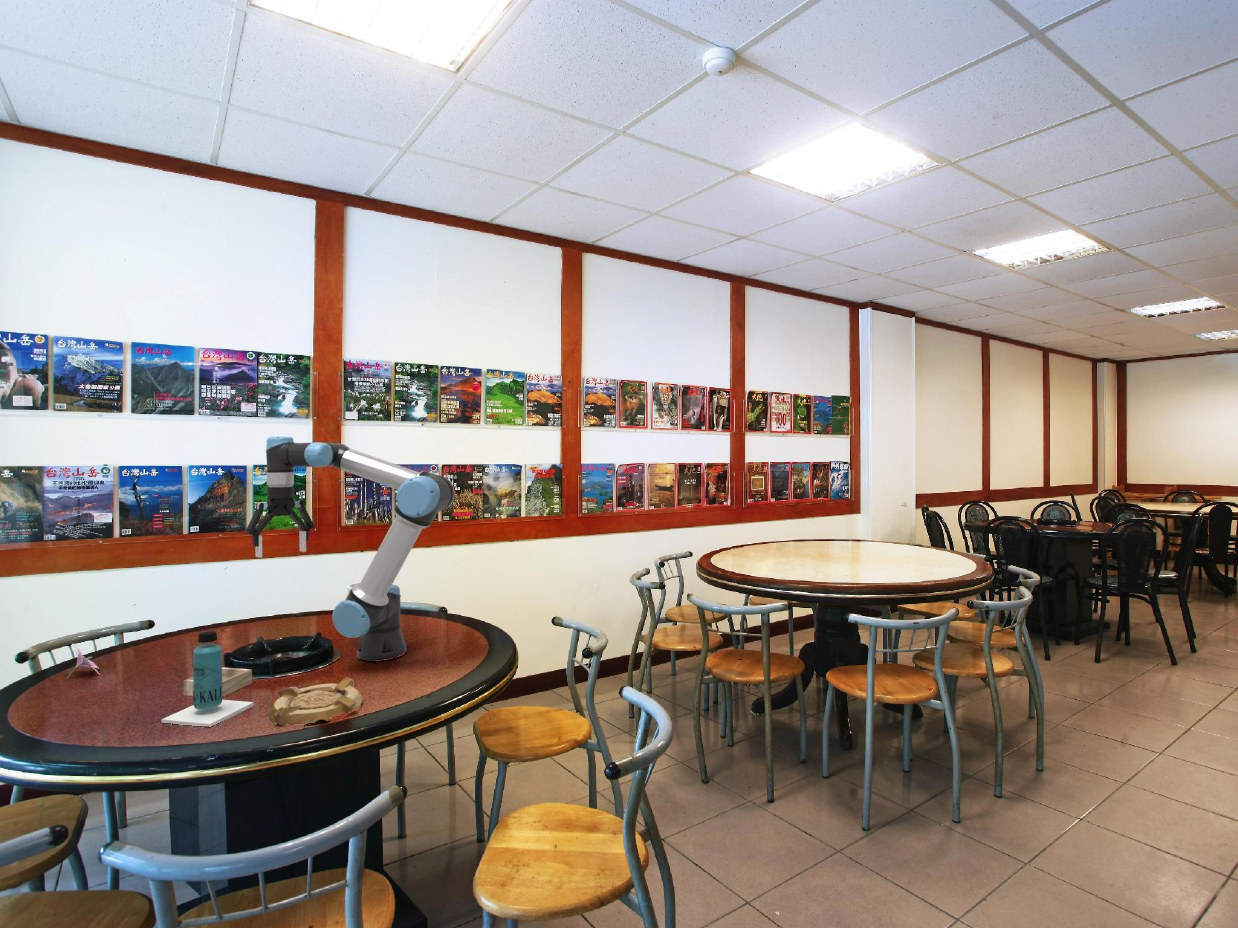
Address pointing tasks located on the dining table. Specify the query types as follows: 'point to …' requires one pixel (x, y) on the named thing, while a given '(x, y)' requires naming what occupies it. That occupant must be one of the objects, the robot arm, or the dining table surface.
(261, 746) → the dining table surface
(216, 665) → the beverage bottle
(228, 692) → the wooden tray
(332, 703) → the ashtray
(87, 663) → the lily
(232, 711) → the rubber mat
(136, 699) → the dining table surface
